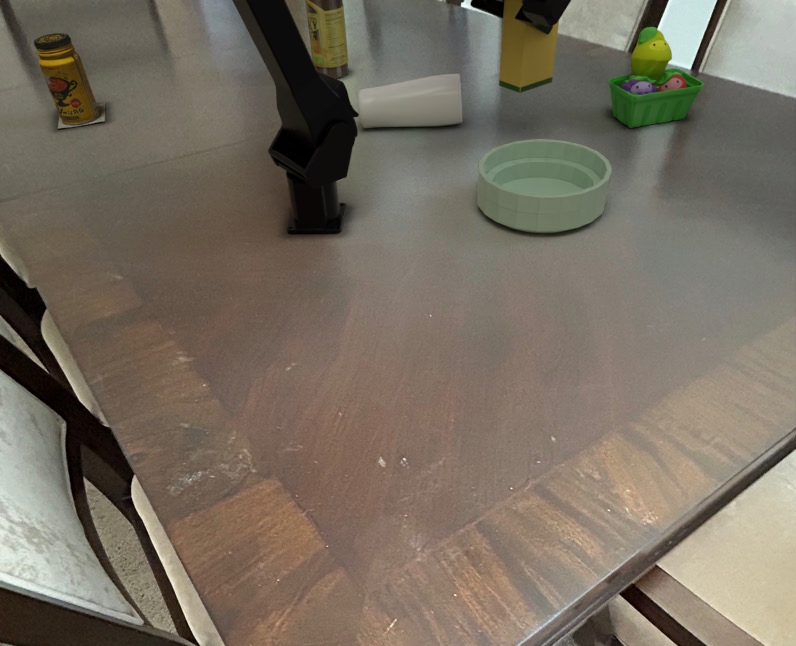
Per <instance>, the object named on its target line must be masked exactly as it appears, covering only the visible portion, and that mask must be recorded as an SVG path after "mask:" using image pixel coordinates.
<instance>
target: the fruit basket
mask: <svg viewBox="0 0 796 646" xmlns="http://www.w3.org/2000/svg"><path fill="white" fill-rule="evenodd" d="M672 60H673V53H672V49H671V46H670V44H669V43H668V42H667V40H666V39H665V36H664V34H663V32H662V31H661V30H659V29H658V28H657V27H655V26H649V27H645V28H642V30H641V31H640V32H639V35H638V38H637V41H636V46H635V47H634V49H633V51H632V54H631V58H630V69H631V72H632V74H626V75H622V76H621V75H620V76H616V77H612V78H609V79H608V87H609V89H610V98H611V99H610V100H611V108H612V116H613V117H614V118H616V119H617V120H618V121H619V122H621V123H622V124H623V125H625V126H627V127H628V128H629V129H633V128H639V127H641V126H642V127H643V126H650V125H655V124H662V123H668V122H671V121H679V120H680V121H681V120H684V119H685V118H686V117H687V115H688V113H689V111H690V109H691V107H692V105H693V103H694V102H695V99H696V98H697V96H698V94H699V93H700V92H701V91H702V89H703V88H704V85H705V83H704V82H703V81H702V80H700V79H698V78H696V77H695V76H692V75H691V74H689V73H687V72H686V71H684V70H681V69H679V68H673V67H670V68H667V66H668V65H669V62H670V61H672Z"/></svg>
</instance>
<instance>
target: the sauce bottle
mask: <svg viewBox="0 0 796 646" xmlns="http://www.w3.org/2000/svg"><path fill="white" fill-rule="evenodd" d="M304 2H305V3H304V4H305V10H306V18H307V19H306V20H307V27H308V36H309V42H310V43H309V44H310V52H311V59H312V61H313V63H314V66H315V68H316V70H318V71H320V72H322V73H324V74H326V75H329V76H331V77H333V78H335V79H339V78H344V77H345V76H347V75H348V73H349V63H348V62H349V52H348V51H349V50H348V40H347V30H346V18H345V8H344V6H345V5H344V2H343V0H304Z"/></svg>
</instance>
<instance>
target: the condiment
mask: <svg viewBox="0 0 796 646" xmlns="http://www.w3.org/2000/svg"><path fill="white" fill-rule="evenodd" d="M33 45H34V47H35V49H36V53H37V56H38V57H39V58H38V59H39V60H38V65H39V67H40V70H41V73H42V74H43V77H44V80H45V82H46V85H47V88H48V89H49V94H50V95H51V98H52V100H53V103H54V106H55V108H56V110H57V113H58V124H57V129H64V128H65V129H66V128H74V127H75V128H76V127H81V126H86V125H91V124H96V123H101V122H106V102H101V103H98V104H97V101H96V98H95V95H94V92H93V90H92V87H91V84H90V82H89V79H88V76H87V73H86V70H85V67H84V64H83V61H82V59H81V56H80V55H79V53H77V51H76V50H75V46H74V44H73V43H72V38H71V37H70V35H69V34H68V33H63V32H54V33H47V34H44V35H41V36H37V37H36V38H35V39H34V40H33Z"/></svg>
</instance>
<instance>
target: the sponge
mask: <svg viewBox="0 0 796 646" xmlns="http://www.w3.org/2000/svg"><path fill="white" fill-rule="evenodd" d="M522 5H523V4H522V0H505V1H504V14H503V19H502V31H501V32H502V33H501V48H500V63H499V65H500V66H499V79H498V86H499V87H502V88H504V89H507V90H510V91H512V92H514V93H518V94H522V93H525V92H527V91H531V90H534V89H537V88H539V87H542V86H545V85H548V84H551V83H553V75H554V66H555V59H556V50H557V41H558V33H559V24H560V20H559V21H558V22H557V24H555V25H553V28H552V30H551V32H550V33H549V34H548V35H547V34H545V33H542V32H540V31H538V30H536V29H534V28H532V27H530V26H528V25H526V24H524V23H522V22H520V21H518V20H516V19H515V16H516V15H517V13H518V11H519V10H520V8H521V6H522Z"/></svg>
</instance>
